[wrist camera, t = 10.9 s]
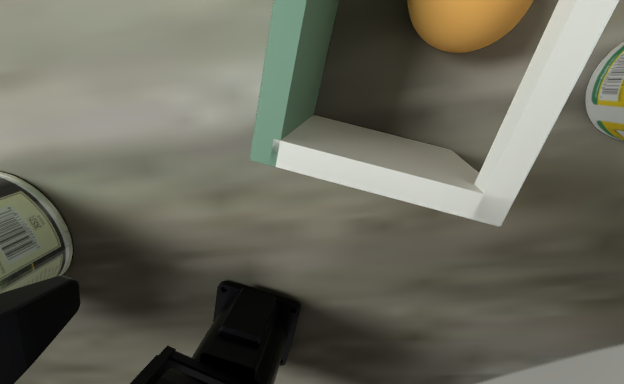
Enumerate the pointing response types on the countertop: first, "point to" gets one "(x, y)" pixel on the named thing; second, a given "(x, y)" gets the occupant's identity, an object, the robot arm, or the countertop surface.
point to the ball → (465, 22)
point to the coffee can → (30, 236)
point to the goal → (401, 151)
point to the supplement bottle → (608, 94)
